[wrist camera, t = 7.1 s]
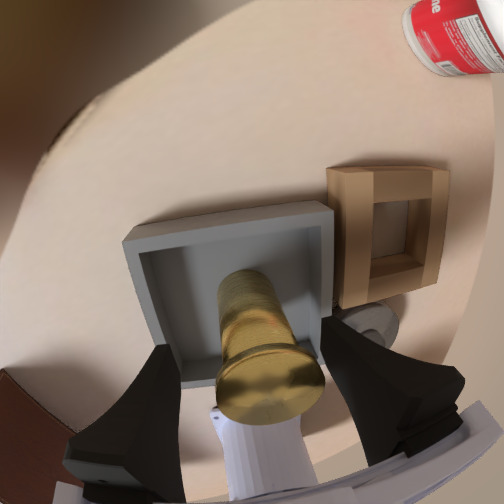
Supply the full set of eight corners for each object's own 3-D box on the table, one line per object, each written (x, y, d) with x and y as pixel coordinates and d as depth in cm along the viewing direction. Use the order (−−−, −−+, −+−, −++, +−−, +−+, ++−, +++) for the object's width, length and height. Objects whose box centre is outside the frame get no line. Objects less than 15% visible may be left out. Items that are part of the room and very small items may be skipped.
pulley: (381, 346, 21) (396, 366, 19) (317, 364, 21) (329, 389, 18) (392, 287, 19) (412, 305, 17) (320, 304, 19) (336, 328, 16)
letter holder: (2, 365, 17) (-47, 468, 4) (130, 464, 25) (125, 555, 12) (-20, 384, 18) (-57, 462, 5) (88, 469, 25) (78, 543, 12)
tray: (315, 340, 20) (327, 363, 17) (176, 363, 19) (174, 389, 16) (315, 199, 16) (333, 210, 13) (134, 226, 15) (121, 242, 12)
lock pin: (280, 318, 18) (319, 413, 11) (215, 327, 17) (224, 431, 10) (278, 258, 16) (331, 346, 9) (205, 267, 16) (207, 367, 8)
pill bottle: (425, 0, 11) (526, -30, 1) (465, 63, 13) (571, 61, 3) (383, 16, 12) (506, -32, 1) (431, 89, 14) (563, 90, 4)
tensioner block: (417, 269, 19) (436, 283, 17) (327, 290, 18) (342, 309, 16) (426, 165, 16) (449, 171, 14) (326, 168, 15) (345, 173, 13)
